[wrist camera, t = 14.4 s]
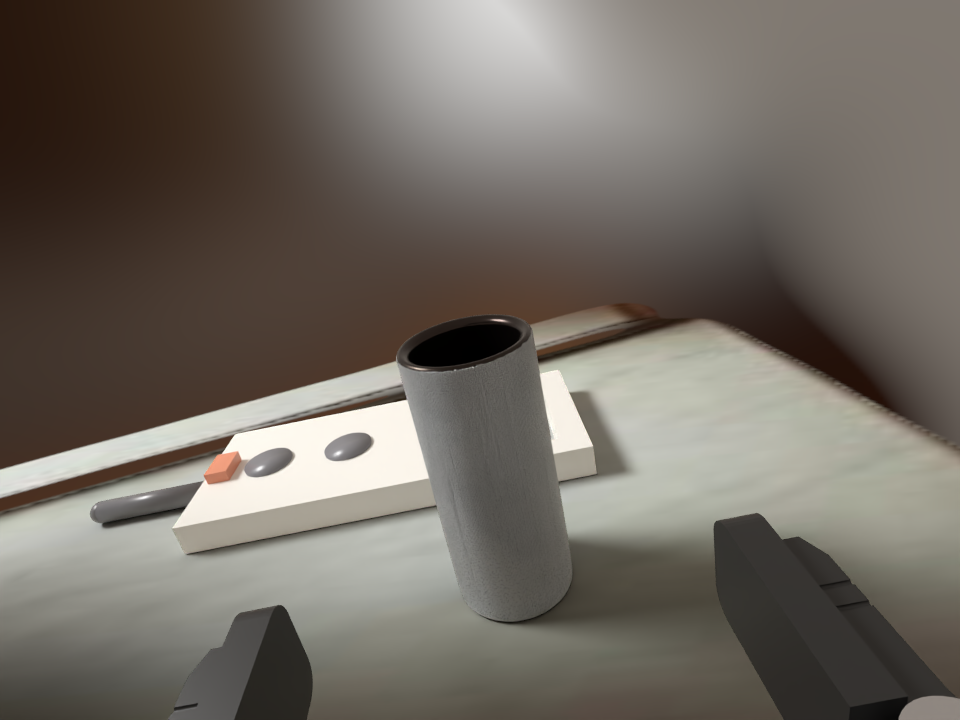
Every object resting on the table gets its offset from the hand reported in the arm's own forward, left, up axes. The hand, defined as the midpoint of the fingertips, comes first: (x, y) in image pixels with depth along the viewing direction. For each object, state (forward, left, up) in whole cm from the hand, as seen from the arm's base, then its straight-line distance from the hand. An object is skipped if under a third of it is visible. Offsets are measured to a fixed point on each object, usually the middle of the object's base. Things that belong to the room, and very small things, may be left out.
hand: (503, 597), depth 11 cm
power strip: (-9, +20, -9) cm, 23 cm away
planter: (0, +10, -9) cm, 13 cm away
